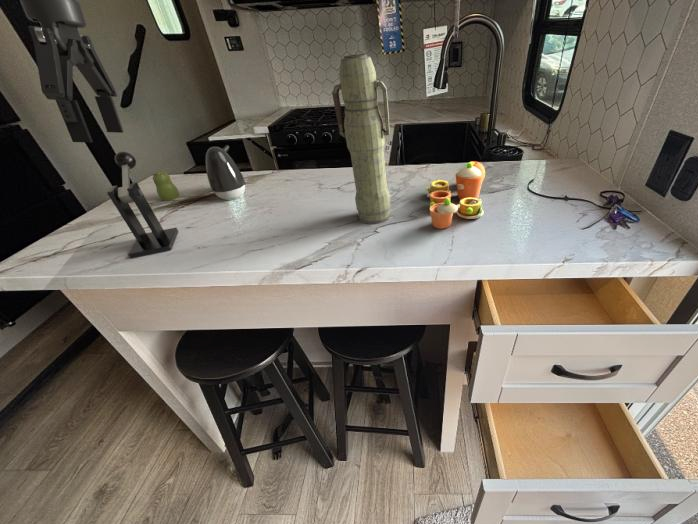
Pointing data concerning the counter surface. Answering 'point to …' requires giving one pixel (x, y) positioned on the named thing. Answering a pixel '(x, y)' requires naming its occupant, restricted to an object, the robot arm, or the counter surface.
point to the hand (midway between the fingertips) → (100, 136)
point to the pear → (165, 186)
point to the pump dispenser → (224, 174)
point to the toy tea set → (467, 192)
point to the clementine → (478, 167)
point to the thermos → (364, 135)
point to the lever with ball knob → (125, 174)
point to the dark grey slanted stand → (144, 241)
